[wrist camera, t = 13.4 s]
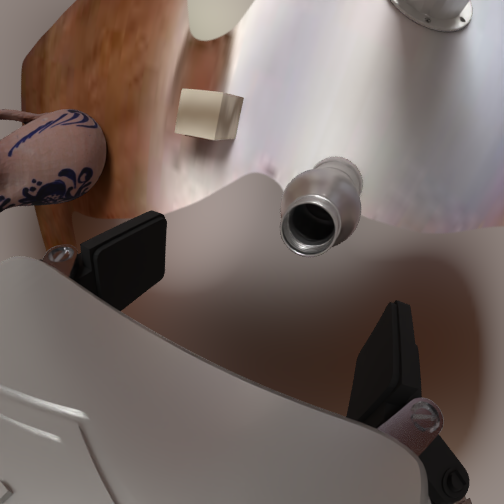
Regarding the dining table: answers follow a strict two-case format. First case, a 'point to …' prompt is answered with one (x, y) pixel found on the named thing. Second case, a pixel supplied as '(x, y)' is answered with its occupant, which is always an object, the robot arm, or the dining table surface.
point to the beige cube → (208, 114)
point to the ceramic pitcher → (49, 157)
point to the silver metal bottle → (321, 207)
